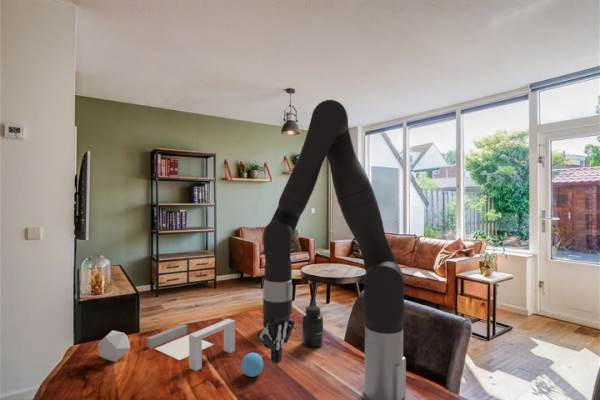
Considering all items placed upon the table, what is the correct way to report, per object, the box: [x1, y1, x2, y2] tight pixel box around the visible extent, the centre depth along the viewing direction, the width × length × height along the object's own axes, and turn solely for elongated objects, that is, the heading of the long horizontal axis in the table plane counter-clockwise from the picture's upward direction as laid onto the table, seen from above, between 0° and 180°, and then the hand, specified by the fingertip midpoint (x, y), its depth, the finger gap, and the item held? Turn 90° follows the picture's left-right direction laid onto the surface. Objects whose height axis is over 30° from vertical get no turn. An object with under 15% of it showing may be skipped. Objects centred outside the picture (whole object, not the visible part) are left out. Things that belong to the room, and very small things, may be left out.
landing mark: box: [154, 334, 214, 361], centre depth 111 cm, size 13×13×1 cm
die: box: [97, 330, 131, 363], centre depth 103 cm, size 8×9×10 cm
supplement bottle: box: [302, 305, 324, 349], centre depth 113 cm, size 7×7×12 cm
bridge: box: [188, 318, 236, 372], centre depth 103 cm, size 3×15×10 cm, turn 145°
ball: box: [240, 352, 264, 378], centre depth 93 cm, size 6×6×6 cm
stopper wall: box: [146, 324, 188, 349], centre depth 116 cm, size 2×14×3 cm, turn 145°
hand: (276, 361), depth 89 cm, fingers closed
